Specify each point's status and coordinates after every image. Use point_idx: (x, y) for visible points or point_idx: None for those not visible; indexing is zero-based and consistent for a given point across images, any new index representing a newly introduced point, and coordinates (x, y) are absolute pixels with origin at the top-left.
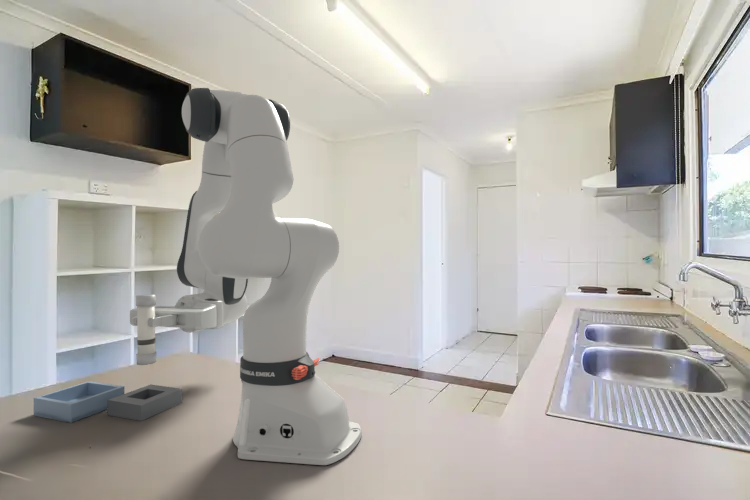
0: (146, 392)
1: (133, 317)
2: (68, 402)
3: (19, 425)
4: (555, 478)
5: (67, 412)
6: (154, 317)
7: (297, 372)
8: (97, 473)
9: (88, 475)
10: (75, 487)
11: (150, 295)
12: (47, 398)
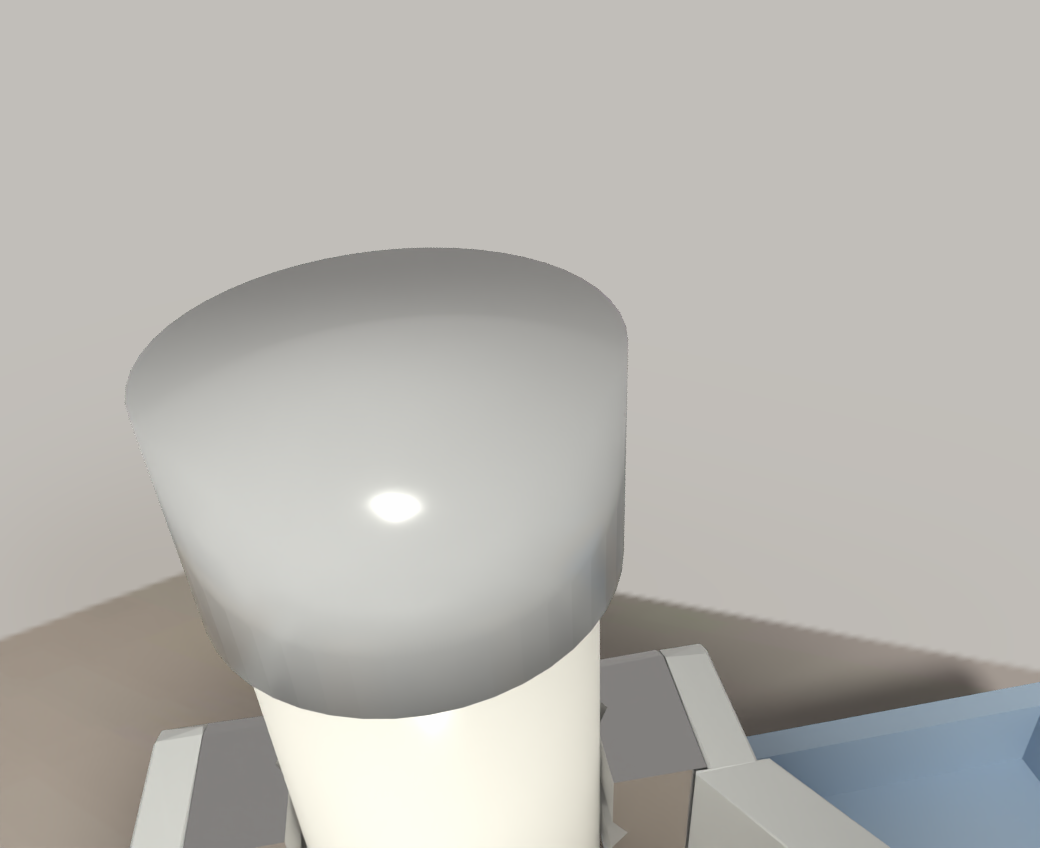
0: None
1: (692, 649)
2: (780, 748)
3: (904, 681)
4: None
5: None
6: (248, 792)
7: None
8: (111, 677)
9: (134, 659)
10: (116, 617)
11: (195, 357)
12: (974, 714)
